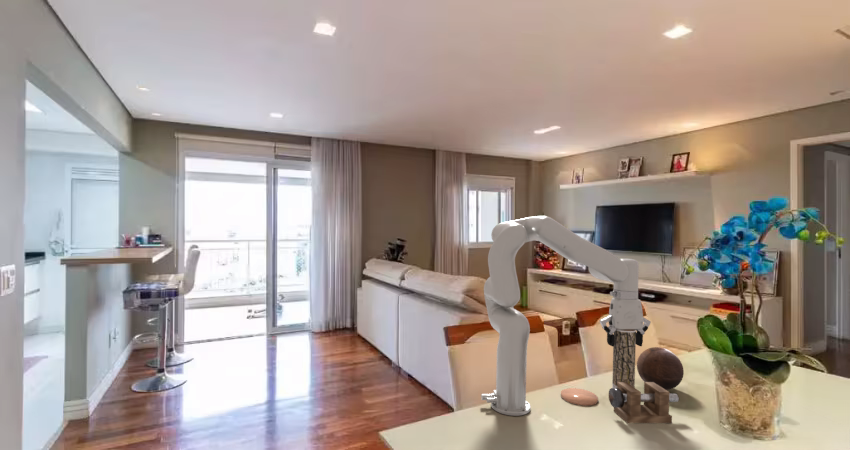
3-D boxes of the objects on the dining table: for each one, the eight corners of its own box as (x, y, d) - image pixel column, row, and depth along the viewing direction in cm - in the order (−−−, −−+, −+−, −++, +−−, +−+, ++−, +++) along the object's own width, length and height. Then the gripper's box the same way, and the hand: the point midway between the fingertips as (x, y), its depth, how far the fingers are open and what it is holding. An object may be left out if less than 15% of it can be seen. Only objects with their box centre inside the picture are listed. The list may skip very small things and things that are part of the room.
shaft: (617, 410, 126) (618, 392, 126) (608, 402, 131) (608, 385, 131) (682, 410, 127) (682, 392, 127) (670, 402, 132) (670, 385, 132)
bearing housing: (627, 423, 125) (628, 392, 125) (613, 411, 133) (614, 382, 132) (671, 422, 125) (672, 392, 125) (655, 410, 133) (656, 381, 133)
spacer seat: (569, 405, 136) (569, 402, 136) (555, 390, 148) (555, 388, 148) (604, 405, 136) (604, 402, 136) (588, 390, 148) (588, 388, 148)
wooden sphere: (693, 396, 146) (694, 354, 146) (655, 398, 144) (656, 355, 144) (662, 380, 161) (663, 341, 161) (627, 381, 158) (628, 342, 158)
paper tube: (636, 407, 136) (638, 331, 136) (614, 404, 137) (616, 330, 137) (630, 398, 143) (632, 326, 143) (609, 396, 144) (611, 325, 144)
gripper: (606, 296, 136) (605, 348, 136) (656, 297, 137) (656, 348, 137) (595, 293, 143) (594, 342, 143) (643, 293, 144) (642, 342, 144)
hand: (624, 345), depth 140 cm, fingers open, 9 cm apart
